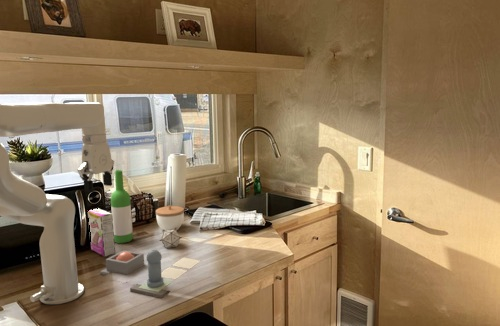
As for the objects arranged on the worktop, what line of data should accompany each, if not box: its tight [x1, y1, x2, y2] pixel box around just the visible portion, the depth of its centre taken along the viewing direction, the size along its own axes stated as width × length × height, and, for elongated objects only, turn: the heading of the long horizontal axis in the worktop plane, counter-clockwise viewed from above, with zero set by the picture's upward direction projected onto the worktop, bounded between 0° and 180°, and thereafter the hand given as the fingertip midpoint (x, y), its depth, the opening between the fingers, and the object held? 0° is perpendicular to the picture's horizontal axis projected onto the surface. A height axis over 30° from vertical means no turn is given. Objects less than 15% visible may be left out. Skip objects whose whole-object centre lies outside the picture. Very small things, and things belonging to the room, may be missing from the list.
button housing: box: [99, 249, 145, 276], centre depth 145 cm, size 12×12×5 cm
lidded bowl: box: [155, 205, 185, 231], centre depth 188 cm, size 13×13×11 cm
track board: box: [129, 257, 201, 299], centre depth 140 cm, size 28×12×1 cm, turn 156°
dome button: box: [116, 252, 134, 262], centre depth 145 cm, size 6×6×6 cm
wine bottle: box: [110, 169, 134, 244], centre depth 172 cm, size 8×8×30 cm
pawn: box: [146, 249, 164, 288], centre depth 131 cm, size 5×5×11 cm
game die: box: [159, 228, 183, 249], centre depth 164 cm, size 9×8×10 cm
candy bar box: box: [87, 207, 116, 257], centre depth 161 cm, size 11×5×16 cm, turn 47°
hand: (98, 188), depth 143 cm, fingers open, 9 cm apart
